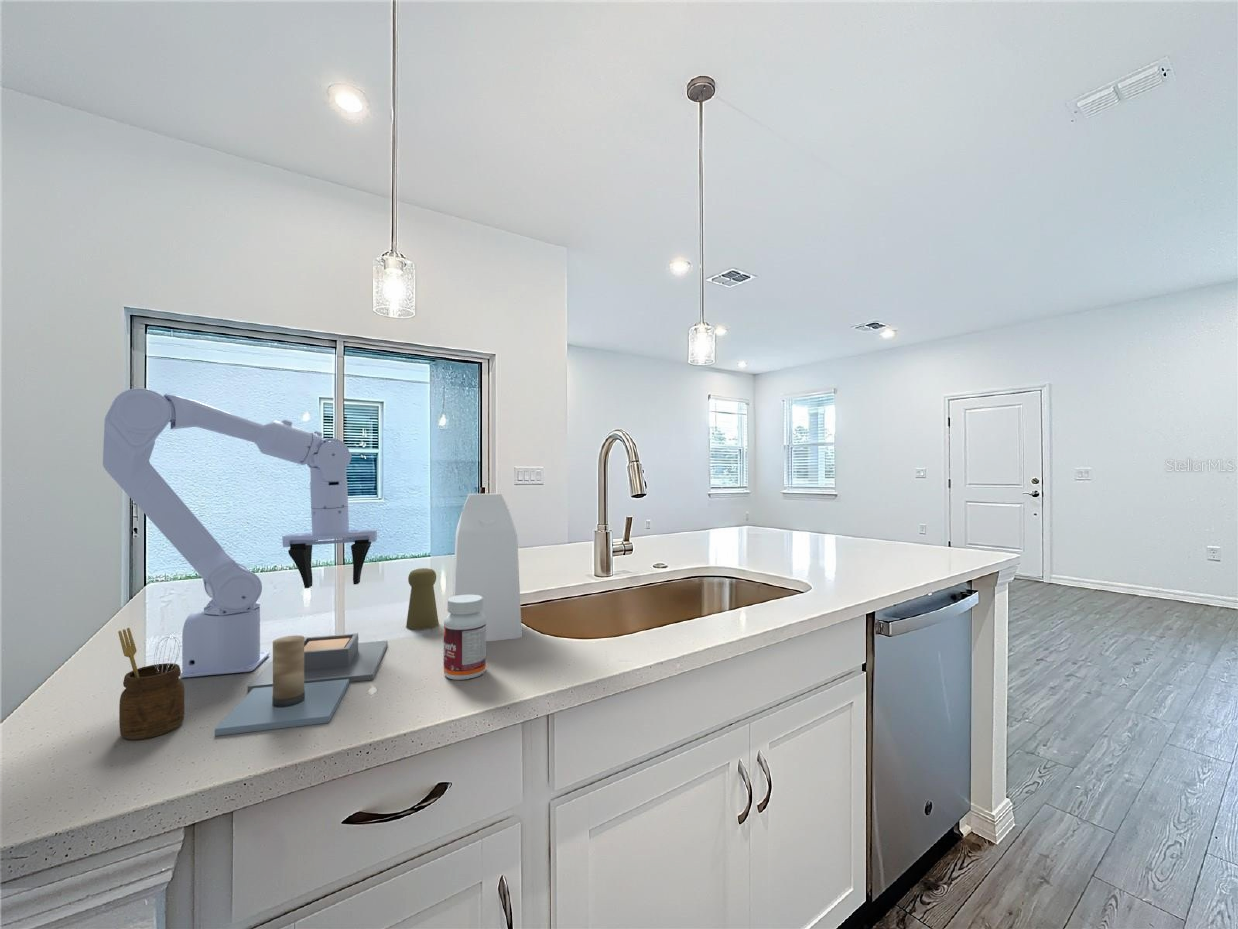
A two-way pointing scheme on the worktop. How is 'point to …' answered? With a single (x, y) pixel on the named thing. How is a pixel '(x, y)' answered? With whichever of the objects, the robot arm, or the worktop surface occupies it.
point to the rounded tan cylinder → (288, 671)
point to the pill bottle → (464, 638)
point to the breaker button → (326, 644)
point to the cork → (422, 600)
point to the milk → (489, 563)
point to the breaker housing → (334, 662)
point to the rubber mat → (284, 709)
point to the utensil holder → (150, 696)
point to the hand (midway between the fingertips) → (332, 585)
